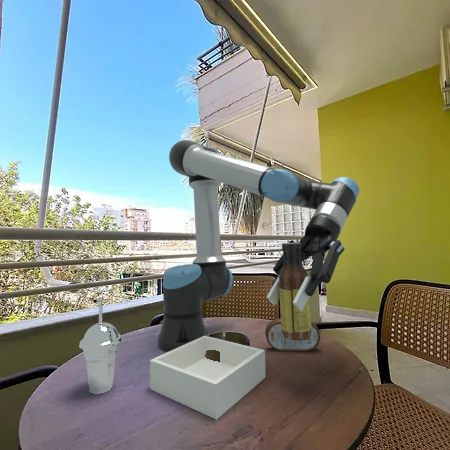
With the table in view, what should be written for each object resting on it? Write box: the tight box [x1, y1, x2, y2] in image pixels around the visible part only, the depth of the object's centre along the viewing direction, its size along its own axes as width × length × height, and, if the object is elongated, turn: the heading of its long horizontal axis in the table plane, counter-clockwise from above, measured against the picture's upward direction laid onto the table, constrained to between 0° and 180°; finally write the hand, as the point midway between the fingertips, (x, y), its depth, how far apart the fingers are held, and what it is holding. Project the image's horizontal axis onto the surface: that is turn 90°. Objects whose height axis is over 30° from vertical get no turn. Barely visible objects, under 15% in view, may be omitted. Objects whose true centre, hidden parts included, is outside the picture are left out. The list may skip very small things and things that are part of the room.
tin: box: [264, 318, 321, 352], centre depth 78 cm, size 15×3×8 cm, turn 84°
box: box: [149, 335, 267, 421], centre depth 61 cm, size 18×18×6 cm
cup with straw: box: [78, 298, 123, 395], centre depth 60 cm, size 8×9×20 cm
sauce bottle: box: [279, 242, 312, 341], centre depth 60 cm, size 6×6×20 cm
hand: (283, 303), depth 57 cm, fingers closed on sauce bottle, 6 cm apart
